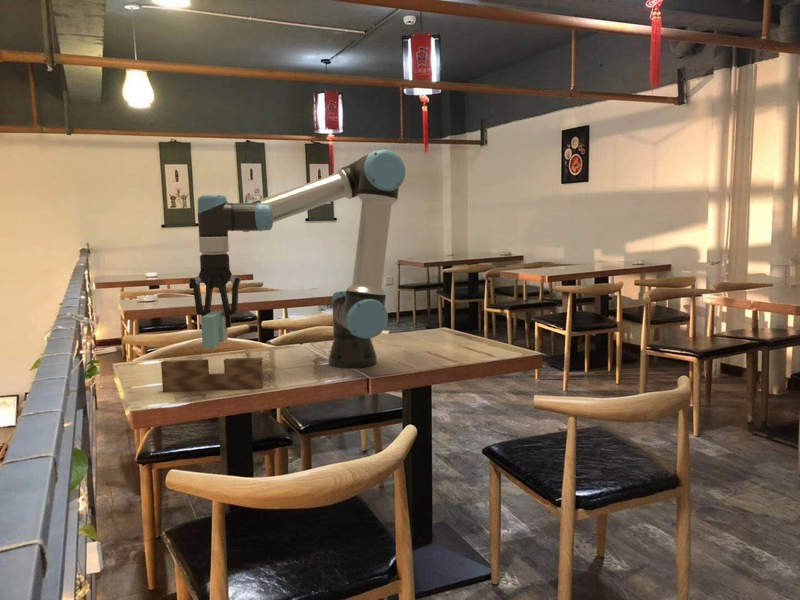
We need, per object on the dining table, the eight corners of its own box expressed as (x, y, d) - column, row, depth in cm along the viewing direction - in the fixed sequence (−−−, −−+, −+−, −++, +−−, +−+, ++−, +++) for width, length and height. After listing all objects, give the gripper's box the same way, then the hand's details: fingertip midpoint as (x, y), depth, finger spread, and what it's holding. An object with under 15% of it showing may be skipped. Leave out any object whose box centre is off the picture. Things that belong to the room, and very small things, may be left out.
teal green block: (226, 339, 172) (224, 310, 171) (214, 348, 158) (213, 317, 157) (215, 339, 172) (213, 310, 171) (202, 348, 158) (201, 317, 157)
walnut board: (263, 386, 168) (262, 357, 167) (262, 388, 166) (261, 358, 165) (165, 390, 166) (163, 360, 165) (162, 392, 164) (160, 362, 163)
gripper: (247, 252, 171) (250, 336, 173) (187, 253, 170) (192, 338, 172) (242, 253, 163) (246, 341, 166) (179, 254, 162) (184, 343, 165)
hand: (218, 339), depth 169 cm, fingers closed on teal green block, 3 cm apart
